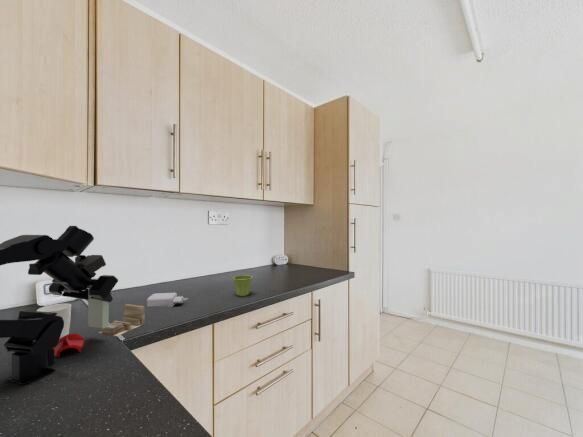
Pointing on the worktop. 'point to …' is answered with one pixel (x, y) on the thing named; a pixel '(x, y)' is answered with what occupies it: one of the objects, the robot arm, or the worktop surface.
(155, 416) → the worktop surface
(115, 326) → the offcut top
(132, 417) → the worktop surface
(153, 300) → the white dispenser bottle
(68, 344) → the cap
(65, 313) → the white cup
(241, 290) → the plant pot
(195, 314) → the worktop surface
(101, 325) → the grey-green flat block
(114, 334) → the offcut bottom
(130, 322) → the offcut rack
